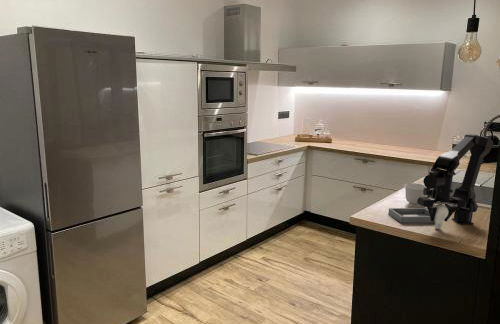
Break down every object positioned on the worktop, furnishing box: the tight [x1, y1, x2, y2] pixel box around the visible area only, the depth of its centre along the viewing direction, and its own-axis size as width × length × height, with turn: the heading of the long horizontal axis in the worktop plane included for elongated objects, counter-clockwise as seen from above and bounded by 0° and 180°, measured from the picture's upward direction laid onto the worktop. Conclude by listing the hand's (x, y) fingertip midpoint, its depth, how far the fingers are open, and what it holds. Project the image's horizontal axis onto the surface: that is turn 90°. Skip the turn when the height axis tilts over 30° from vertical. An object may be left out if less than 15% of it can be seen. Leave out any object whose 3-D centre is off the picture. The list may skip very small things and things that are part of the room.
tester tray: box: [387, 207, 435, 225], centre depth 178 cm, size 18×12×3 cm, turn 97°
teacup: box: [403, 182, 433, 208], centre depth 197 cm, size 12×15×10 cm
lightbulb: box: [434, 204, 449, 230], centre depth 165 cm, size 6×6×11 cm
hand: (438, 221), depth 165 cm, fingers closed on lightbulb, 6 cm apart
